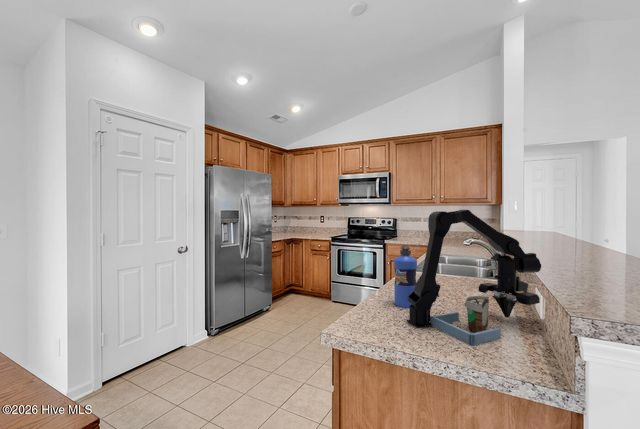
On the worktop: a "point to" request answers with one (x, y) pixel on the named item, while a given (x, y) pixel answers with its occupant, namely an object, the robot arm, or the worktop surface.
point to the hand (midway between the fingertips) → (507, 317)
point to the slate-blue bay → (470, 338)
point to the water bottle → (404, 277)
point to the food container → (477, 313)
